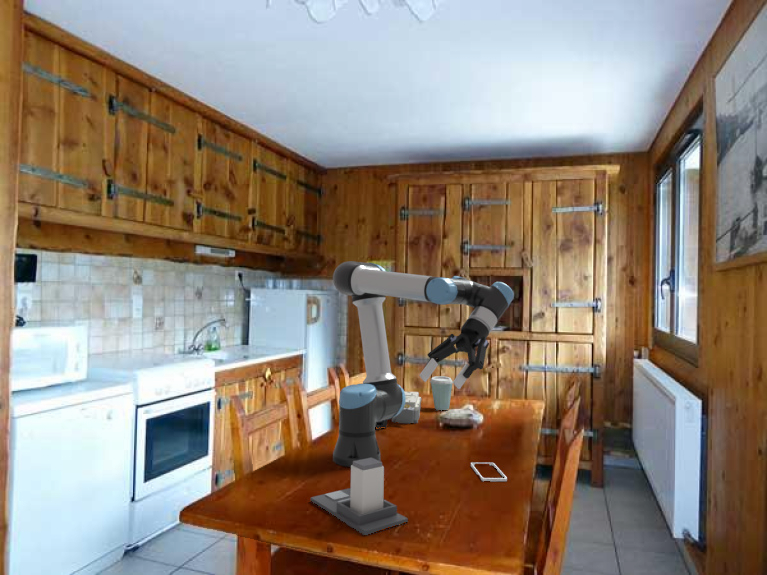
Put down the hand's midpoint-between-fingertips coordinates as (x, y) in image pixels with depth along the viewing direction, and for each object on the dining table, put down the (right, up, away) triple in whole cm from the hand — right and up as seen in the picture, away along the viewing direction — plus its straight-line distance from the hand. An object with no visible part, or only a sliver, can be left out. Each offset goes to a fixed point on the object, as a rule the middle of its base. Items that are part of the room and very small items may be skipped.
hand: (438, 382), depth 146 cm
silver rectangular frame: (+16, -30, +15) cm, 37 cm away
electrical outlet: (-5, -31, +85) cm, 91 cm away
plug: (-19, -27, -19) cm, 38 cm away
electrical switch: (-18, -30, +67) cm, 76 cm away
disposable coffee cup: (+12, -32, +105) cm, 111 cm away
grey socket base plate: (-21, -28, -16) cm, 39 cm away
